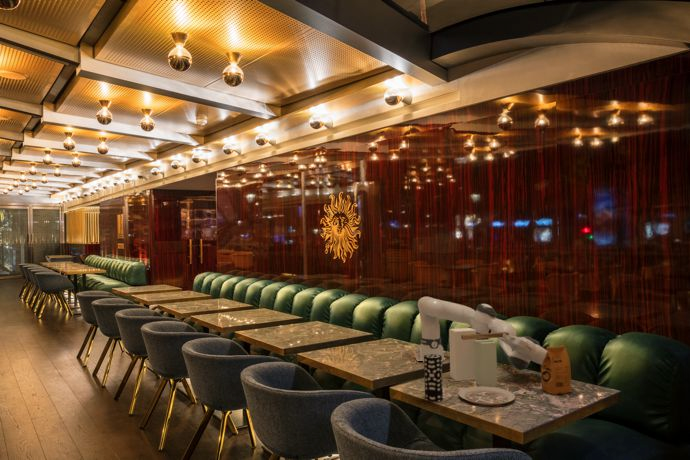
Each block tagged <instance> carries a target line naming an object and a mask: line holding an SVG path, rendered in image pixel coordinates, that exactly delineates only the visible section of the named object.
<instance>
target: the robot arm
mask: <svg viewBox="0 0 690 460" xmlns="http://www.w3.org/2000/svg"><path fill="white" fill-rule="evenodd" d="M417 308H418V312H419V319H420V323H421V325H420V326H421V340H420V344H419V345H418V347H417V349H415V353H416V354H414V355H413V357H414V356H415V357H414V359H415V358H416V359H415V360H417V361H423V362H422V363H424V355H428V354H437V355H441V356H442V361H443V360H444V361H446V360H447V358H446V357H445V355H444V354H445V353H444V347H443V345H442V339H441V326H440V322H439V319H442V320H446V321H447V320H448V321H451V322H456V323H460V324H461V323H462V324H466V325H469V326H468V327H467V328H471V329H474V330H476V334H483V333H490V332H491V333H499V332H508V333H509V335H506V334H504V333H503V334H502V337H498V338H497V339H498V340H497V341H498V347H499V349H500V350H501V352H502V353H503V355H504V356H505V357H506V359H507V360H508V362H509V364H510V365H511V366H512V367H513V368H515V369H516V370H518V371H523V370H526V369H528V367H529V364H530V362H531V361H532V362H534V363H536V364H539V365H541V366H542V363H543V360H544V358H545V356H546V353H547V349H546V348H544V347H542V346H541V344H540V342H539V341H538V340H536V339H534V338H532V337H531V336H529V335H525V336H517V330H516V328H515V327H514V326H513V325H512V324H510V323H509V322H507V321H506V320H503V319H500V318H497V316H498V314H497V313H496V310H495V309H494V308H493V306H491V305H490V304H487V303H480V304H478V305H477V307H476V310H475V309H473V308H472V307H469V306H466V305H464V304H460V303H455V302H452V301H446V300H441V299H438V298H434V297H432V296H431V297H430V296H423V297H420V298H419V299H418V301H417ZM489 331H490V332H489ZM481 340H486V338H483V339H481ZM445 359H446V360H445ZM417 361H416V362H417ZM444 361H443V362H444Z"/></svg>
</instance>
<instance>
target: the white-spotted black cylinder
mask: <svg viewBox="0 0 690 460" xmlns="http://www.w3.org/2000/svg"><path fill="white" fill-rule="evenodd" d="M423 368H424V369H423V372H424V373H423V374H424V375H423V376H424V380H423V381H424V400H425V401H428V402H434V403H437V402H442V401H443V400H444V388H443V387H444V386H443V383H444V382H443V362H442V356H441V355H437V354H428V355H424V362H423Z"/></svg>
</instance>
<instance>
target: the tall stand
mask: <svg viewBox="0 0 690 460" xmlns="http://www.w3.org/2000/svg"><path fill="white" fill-rule="evenodd" d="M448 333H449V335H448V336H449V338H448V339H449V374H450V378H451V379H453V381H456V382H460V381H461V382H462V381H473V380H475V381H476V379H475V343H474V340H478V339H469V340H463V339H461V335H468V334H476V330H474V329H471V328H468V327H462V328H461V327H460V328H459V327H458V328H449V330H448Z"/></svg>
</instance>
